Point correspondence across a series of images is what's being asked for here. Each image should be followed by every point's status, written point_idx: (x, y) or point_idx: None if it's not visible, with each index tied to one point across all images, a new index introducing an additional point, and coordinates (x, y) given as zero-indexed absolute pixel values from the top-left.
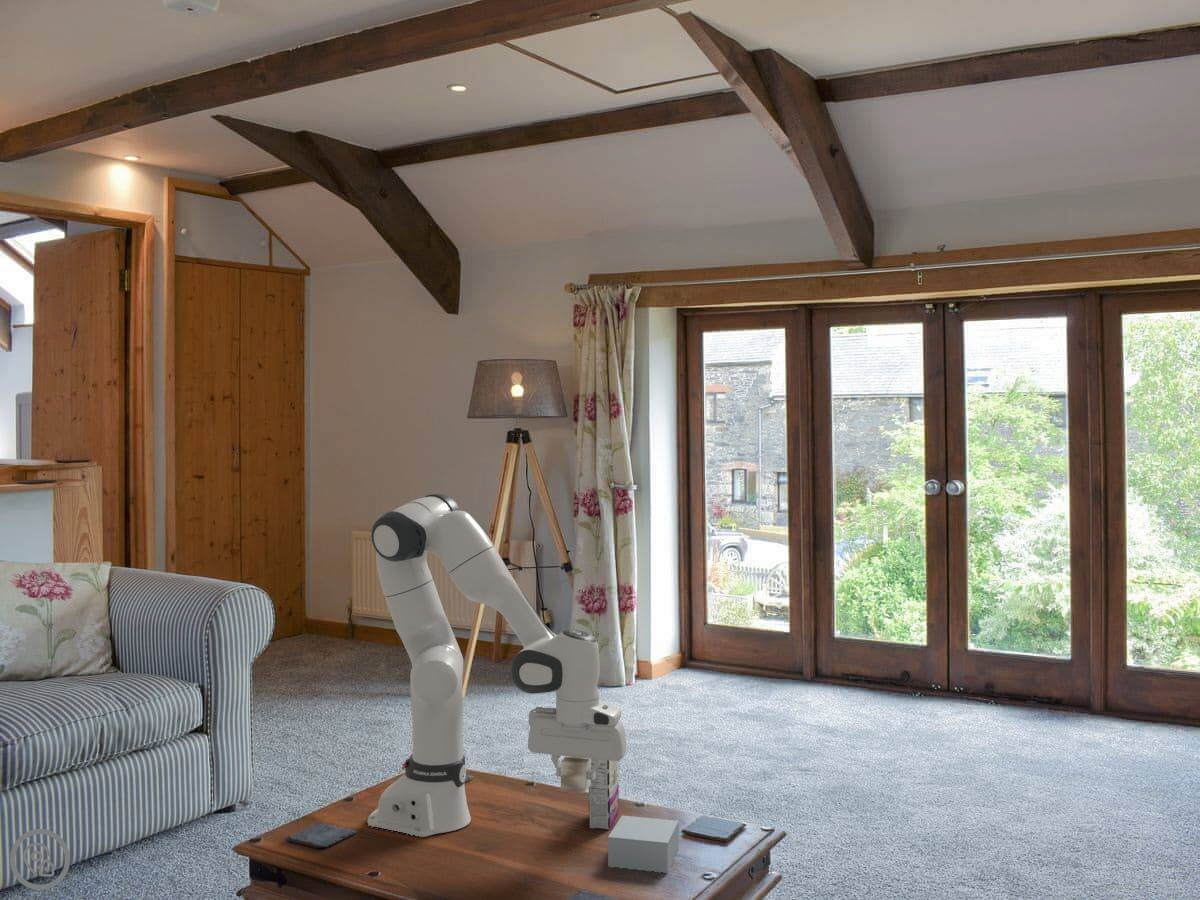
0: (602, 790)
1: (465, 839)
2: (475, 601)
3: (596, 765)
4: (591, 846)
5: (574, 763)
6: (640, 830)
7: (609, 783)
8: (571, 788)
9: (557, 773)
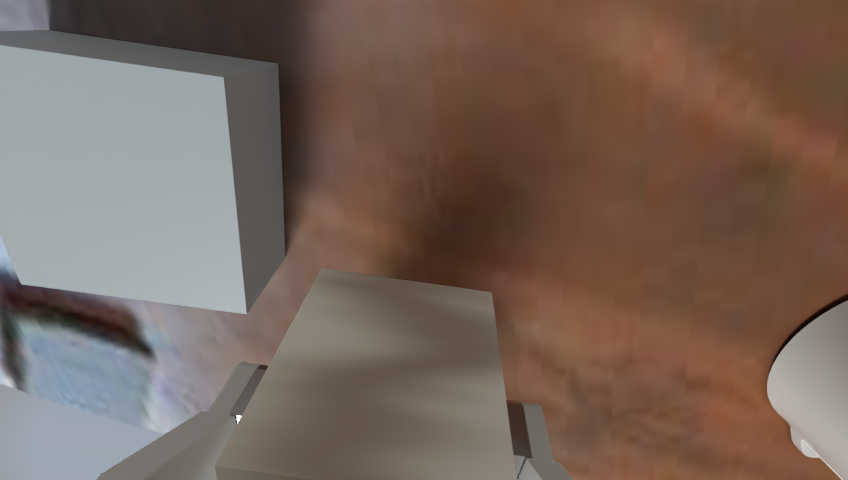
0: None
1: (809, 248)
2: None
3: (135, 465)
4: (375, 232)
5: (351, 473)
6: (112, 173)
7: None
8: (412, 294)
9: (534, 418)
